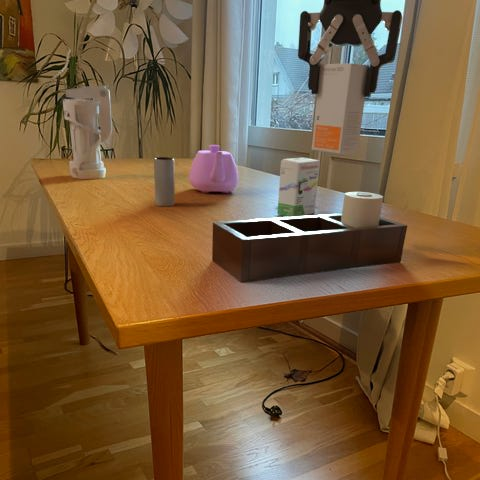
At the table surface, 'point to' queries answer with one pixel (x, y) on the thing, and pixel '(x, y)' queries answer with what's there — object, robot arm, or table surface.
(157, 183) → the grey cylinder
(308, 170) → the ink box
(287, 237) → the box
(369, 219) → the towel roll
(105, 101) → the lantern
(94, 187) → the table surface
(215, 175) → the teapot
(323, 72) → the cosmetic box
